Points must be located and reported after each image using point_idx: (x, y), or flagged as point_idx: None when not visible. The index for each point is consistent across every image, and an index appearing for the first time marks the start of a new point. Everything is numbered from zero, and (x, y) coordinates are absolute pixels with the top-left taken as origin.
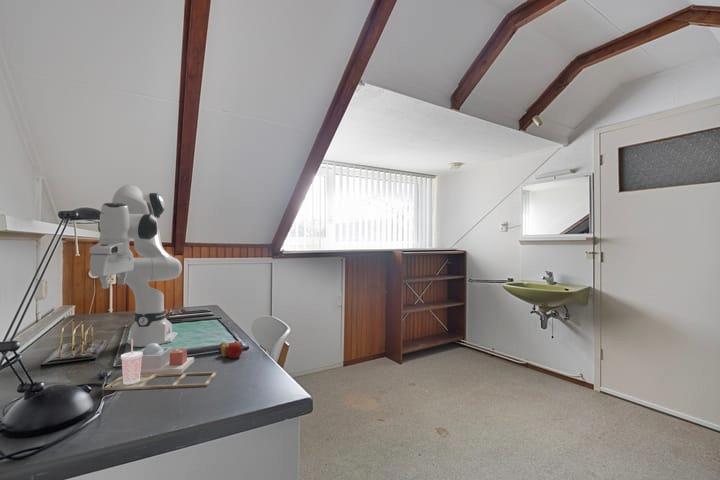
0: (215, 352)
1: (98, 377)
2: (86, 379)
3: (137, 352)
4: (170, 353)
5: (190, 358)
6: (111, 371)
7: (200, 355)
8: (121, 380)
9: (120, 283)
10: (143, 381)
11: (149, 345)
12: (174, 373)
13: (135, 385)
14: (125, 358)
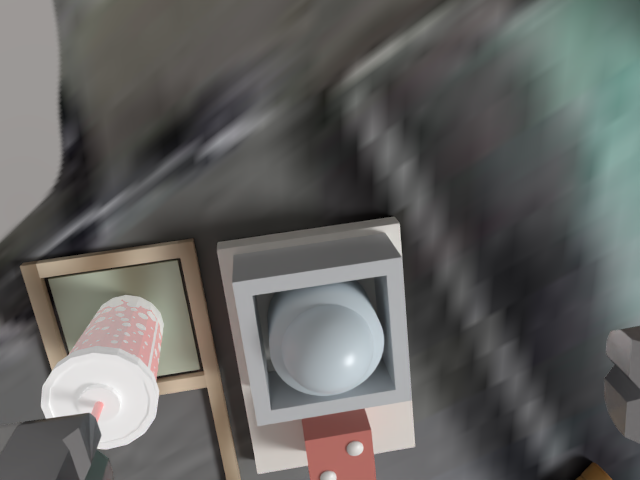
0: (534, 462)
1: (170, 119)
2: (137, 75)
3: (143, 404)
4: (305, 443)
5: (397, 439)
6: (259, 126)
7: (493, 420)
8: (136, 272)
9: (624, 379)
10: None
11: (309, 363)
12: (229, 452)
13: None
14: (44, 400)
